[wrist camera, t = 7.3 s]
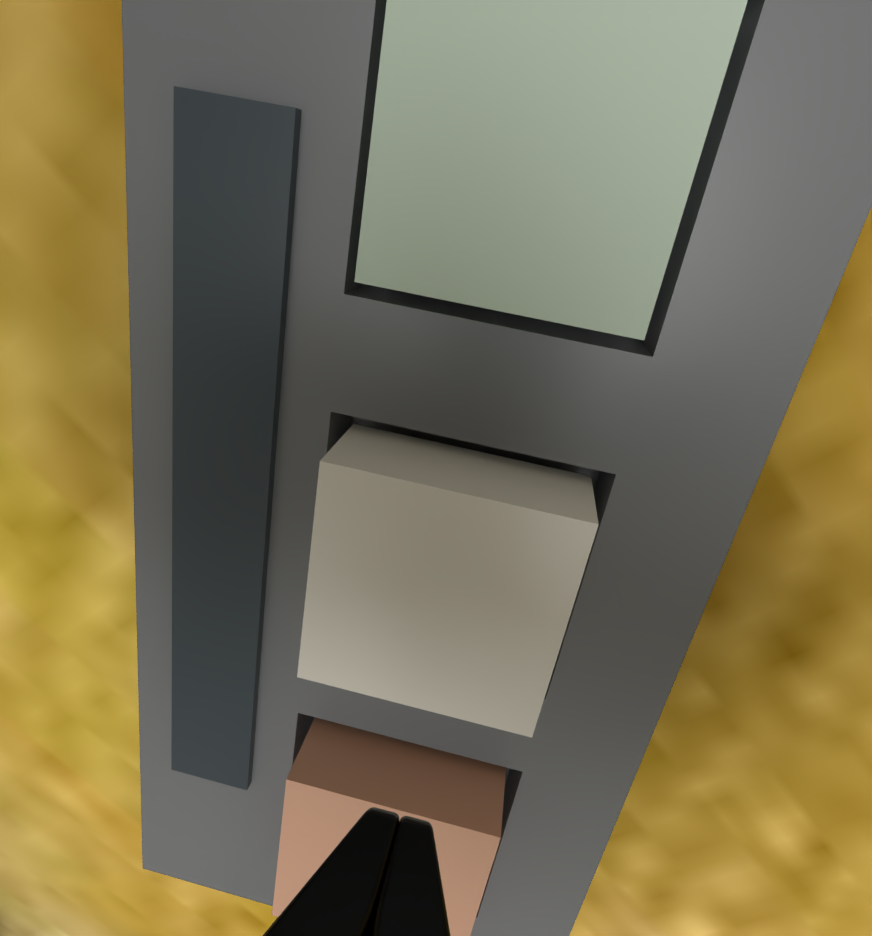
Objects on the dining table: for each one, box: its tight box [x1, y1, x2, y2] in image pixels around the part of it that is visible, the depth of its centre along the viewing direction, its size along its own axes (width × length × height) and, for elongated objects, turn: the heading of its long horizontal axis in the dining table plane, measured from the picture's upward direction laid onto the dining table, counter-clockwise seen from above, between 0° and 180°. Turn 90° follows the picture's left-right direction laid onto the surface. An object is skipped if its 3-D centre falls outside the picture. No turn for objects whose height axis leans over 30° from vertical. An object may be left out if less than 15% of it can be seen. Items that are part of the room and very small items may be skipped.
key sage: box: [354, 0, 748, 340], centre depth 12 cm, size 6×6×2 cm
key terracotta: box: [272, 717, 506, 936], centre depth 18 cm, size 6×6×2 cm
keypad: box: [122, 0, 872, 936], centre depth 17 cm, size 14×29×3 cm, turn 170°
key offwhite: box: [297, 424, 599, 738], centre depth 15 cm, size 6×6×2 cm
